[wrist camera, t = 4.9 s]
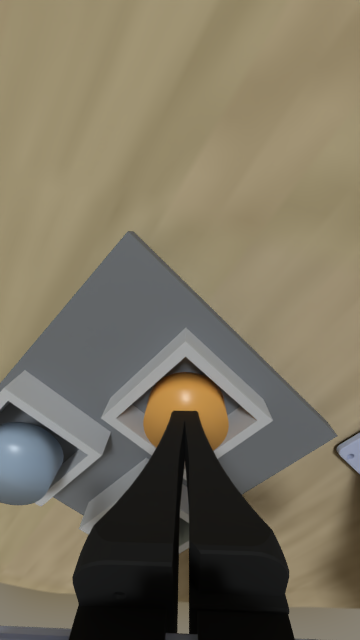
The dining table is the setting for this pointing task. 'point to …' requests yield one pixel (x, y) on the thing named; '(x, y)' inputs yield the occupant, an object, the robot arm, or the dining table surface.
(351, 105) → the dining table surface
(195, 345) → the control board
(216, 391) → the button orange
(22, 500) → the button blue
